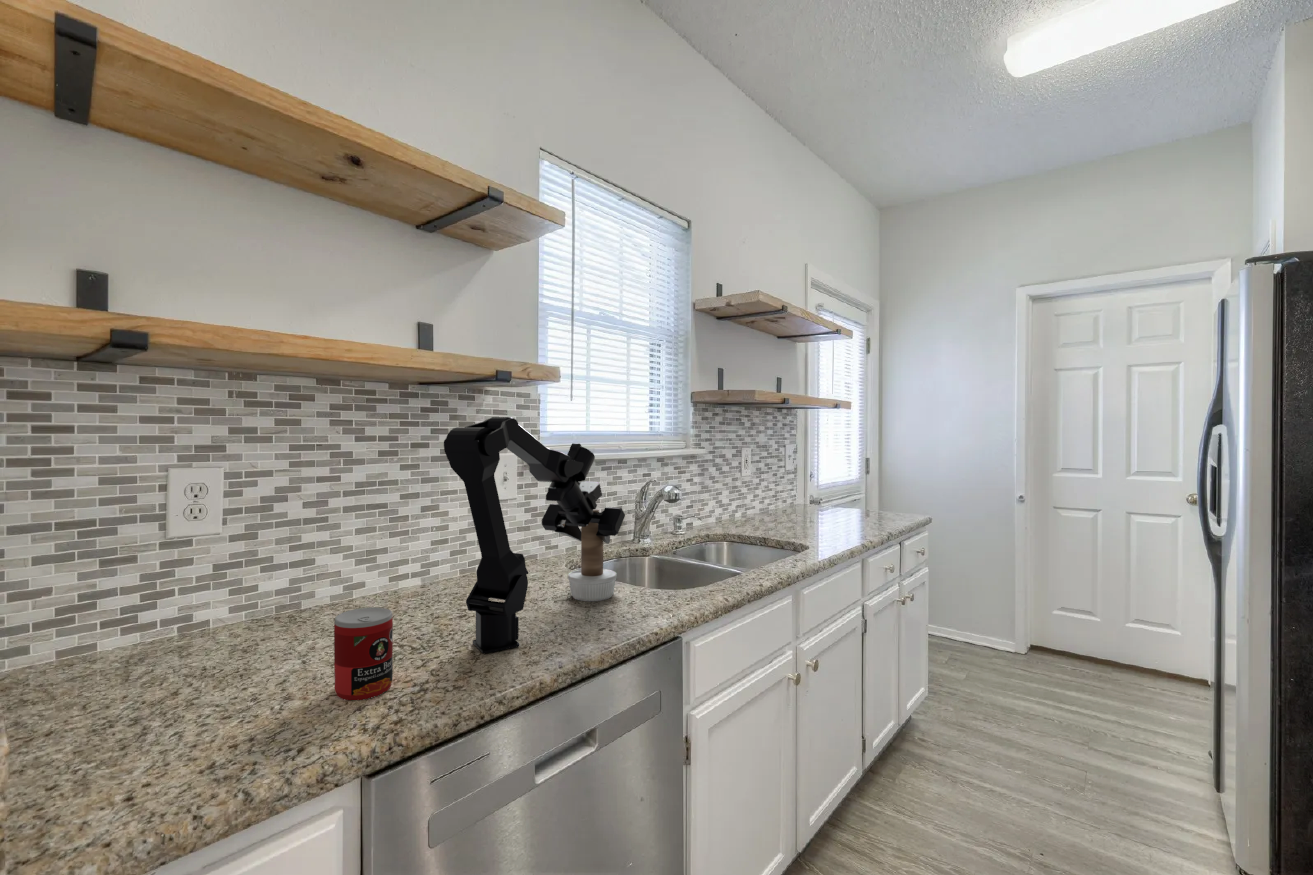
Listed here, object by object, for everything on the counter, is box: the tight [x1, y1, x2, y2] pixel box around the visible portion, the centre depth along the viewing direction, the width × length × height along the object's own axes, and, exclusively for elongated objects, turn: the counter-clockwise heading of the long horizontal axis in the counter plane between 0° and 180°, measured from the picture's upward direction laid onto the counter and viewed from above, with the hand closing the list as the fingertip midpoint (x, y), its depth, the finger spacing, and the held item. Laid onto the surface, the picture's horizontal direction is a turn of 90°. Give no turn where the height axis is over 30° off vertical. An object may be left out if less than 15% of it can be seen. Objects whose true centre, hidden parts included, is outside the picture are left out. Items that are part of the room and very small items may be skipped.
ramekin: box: [567, 568, 618, 602], centre depth 138 cm, size 11×11×5 cm
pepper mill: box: [580, 508, 604, 576], centre depth 137 cm, size 5×5×15 cm
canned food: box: [333, 606, 394, 701], centre depth 88 cm, size 8×8×11 cm
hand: (595, 540), depth 139 cm, fingers open, 7 cm apart
